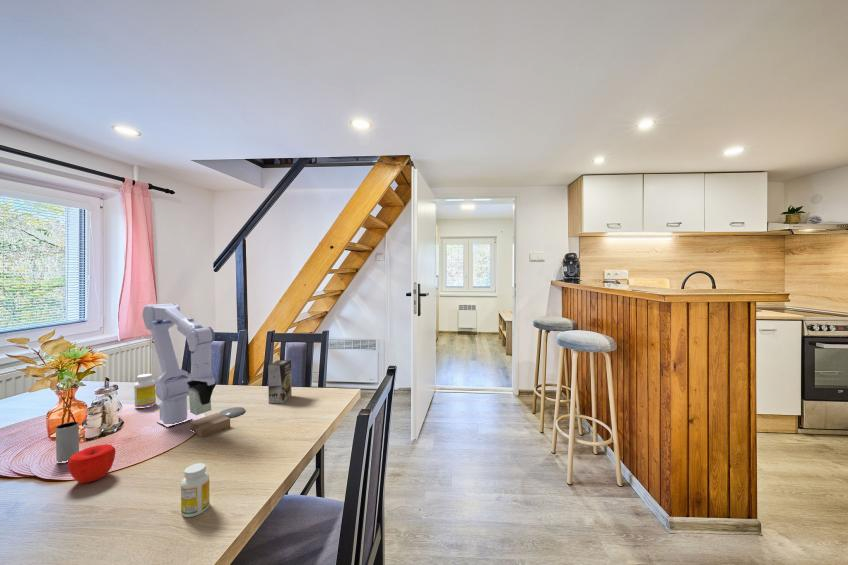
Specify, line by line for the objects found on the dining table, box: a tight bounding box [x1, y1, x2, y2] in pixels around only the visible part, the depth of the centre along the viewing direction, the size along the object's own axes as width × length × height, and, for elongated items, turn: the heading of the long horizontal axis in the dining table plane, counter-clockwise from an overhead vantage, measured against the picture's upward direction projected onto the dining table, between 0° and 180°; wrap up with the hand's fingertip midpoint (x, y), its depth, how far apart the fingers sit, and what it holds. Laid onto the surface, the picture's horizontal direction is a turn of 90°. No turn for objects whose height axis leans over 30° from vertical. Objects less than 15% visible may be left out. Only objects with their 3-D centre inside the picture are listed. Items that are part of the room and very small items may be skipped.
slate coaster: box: [218, 406, 246, 419], centre depth 130 cm, size 9×9×1 cm
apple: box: [67, 443, 116, 484], centre depth 88 cm, size 9×9×8 cm
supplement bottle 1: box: [133, 373, 157, 408], centre depth 138 cm, size 7×7×13 cm
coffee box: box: [267, 359, 293, 404], centre depth 144 cm, size 9×6×16 cm
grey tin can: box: [55, 421, 80, 462], centre depth 97 cm, size 4×4×10 cm
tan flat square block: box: [189, 412, 231, 438], centre depth 117 cm, size 9×9×3 cm
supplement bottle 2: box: [180, 462, 210, 518], centre depth 76 cm, size 5×5×10 cm
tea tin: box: [188, 383, 212, 416], centre depth 114 cm, size 5×5×9 cm
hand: (202, 402), depth 115 cm, fingers closed on tea tin, 5 cm apart
